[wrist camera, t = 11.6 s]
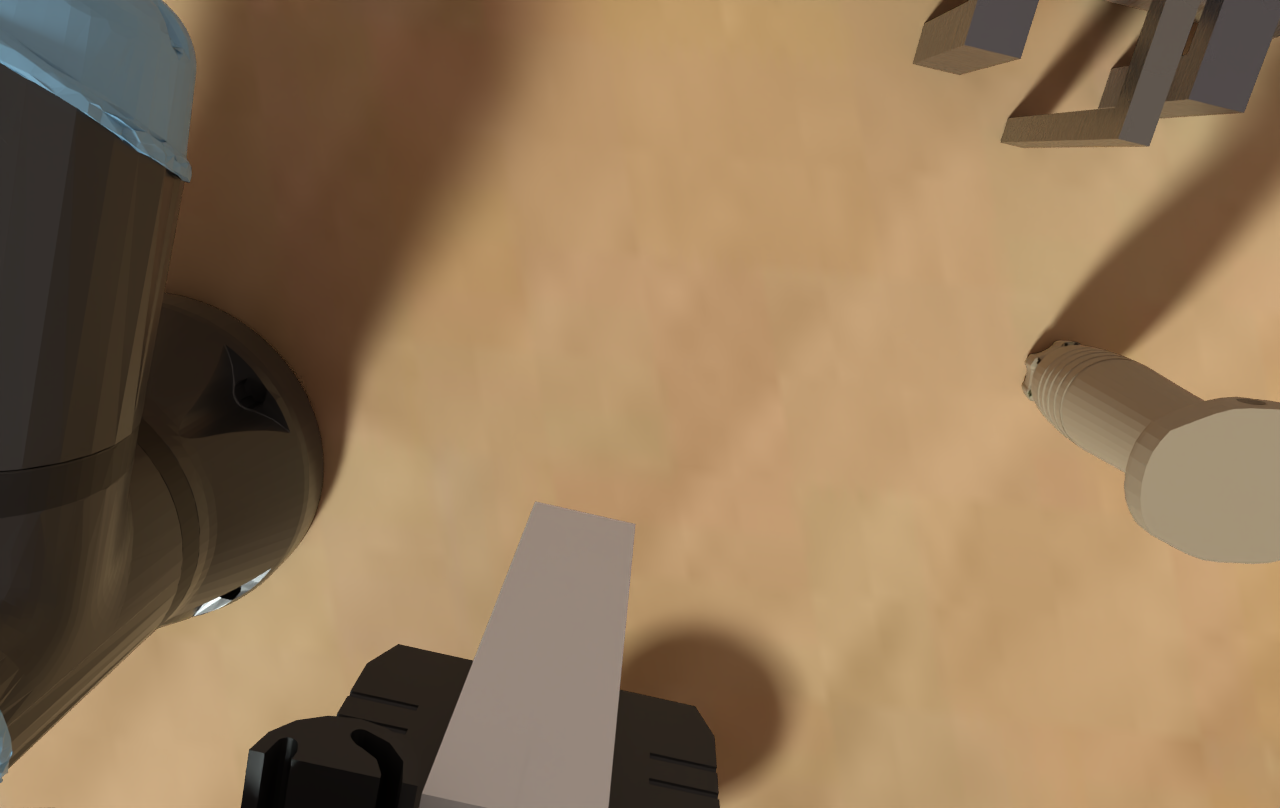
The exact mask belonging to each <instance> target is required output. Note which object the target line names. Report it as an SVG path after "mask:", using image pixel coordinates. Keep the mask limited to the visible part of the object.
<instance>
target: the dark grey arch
mask: <svg viewBox="0 0 1280 808" xmlns="http://www.w3.org/2000/svg"><path fill="white" fill-rule="evenodd" d="M1038 1H1039V0H968V2H966V3H964V4H962V5H960V6H958V7H956V8H954V9H952V10H950V11H948V12H946V13H944V14H942V15H940V16H938V17H936V18H934V19H932V20H930V21H928V22H926V23H924V26H923V30H922V33H921V37H920V40H919V44H918V47H917V51H916V54H915V58H914V61H913V64H916V65H920V66H924V67H928V68H933V69H937V70H941V71H945V72H949V73H953V74H958V75H961V74H965V73H968V72H972V71H976V70H980V69H983V68H987V67H991V66H995V65H998V64H1002V63H1006V62H1010V61H1014V60H1017V59H1021V56H1022V52H1023V49H1024V46H1025V43H1026V40H1027V36H1028V33H1029V30H1030V27H1031V24H1032V20H1033V17H1034V14H1035V11H1036V8H1037V5H1038Z"/></svg>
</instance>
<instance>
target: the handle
mask: <svg viewBox="0 0 1280 808" xmlns="http://www.w3.org/2000/svg"><path fill="white" fill-rule="evenodd" d="M1025 365H1026V368H1027V374H1026V378H1025V381H1024V382H1023V383H1022V389H1023V391H1024V393H1025V395H1026V397H1027V398H1028V399H1029V400H1030V401H1034V402H1035V404H1036V406H1037V407H1038V409H1039V410H1040V412H1041V413H1042V414H1043V416H1044V417H1045V418H1046V419H1047V420H1048V421H1049V422H1050V423H1051V424H1052V425H1053V426H1054V427H1055V428H1056V429H1057V430H1058V431H1059V432H1060V433H1061V434H1063V435H1064V436H1065V437H1066V438H1068V439H1069V440H1071V441H1072V442H1073V443H1075V444H1076V445H1077V446H1079V447H1080V448H1082V449H1083V450H1085V451H1087V452H1088V453H1090V454H1092V455H1094V456H1096V457H1097V458H1099V459H1101V460H1103V461H1105V462H1106V463H1108V464H1110V465H1112V466H1114V467H1115V468H1117V469H1119V470H1121V471H1123V472H1125V481H1124V489H1125V499H1126V502H1127V505H1128V508H1129V511H1130V513H1131V515H1132V517H1133V518H1134V520H1135V522H1136V523H1137V524H1138V525H1139V526H1141V527H1142V528H1143V529H1144V530H1145V531H1147V532H1148V533H1149V534H1150V535H1152V536H1154V537H1156V538H1158V539H1159V540H1161V541H1163V542H1165V543H1167V544H1169V545H1170V546H1172V547H1174V548H1176V549H1178V550H1180V551H1182V552H1184V553H1186V554H1188V555H1191V556H1193V557H1196V558H1199V559H1201V560H1207V561H1214V562H1224V563H1245V564H1259V563H1271V562H1276V561H1280V403H1279V402H1273V401H1267V400H1259V399H1250V398H1241V397H1227V398H1218V399H1213V400H1208V401H1204V400H1202V399H1200V398H1199V397H1197V396H1195V395H1193V394H1192V393H1190V392H1188V391H1186V390H1185V389H1183V388H1181V387H1180V386H1178V385H1177V384H1175V383H1173V382H1172V381H1170V380H1168V379H1167V378H1165V377H1163V376H1162V375H1160V374H1158V373H1157V372H1155V371H1153V370H1152V369H1150V368H1148V367H1147V366H1145V365H1143V364H1140V363H1138V362H1136V361H1134V360H1131V359H1129V358H1127V357H1124V356H1122V355H1119V354H1116V353H1113V352H1110V351H1106V350H1103V349H1100V348H1095V347H1091V346H1083V345H1080V343H1077V342H1073V341H1068V340H1058V341H1055V342H1054V343H1053V345H1052V346H1051V347H1050V348H1048V349H1046V350H1045V351H1042V352H1040V353H1036V354H1030V355H1029V356H1028V358H1027V359H1026V361H1025Z"/></svg>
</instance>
